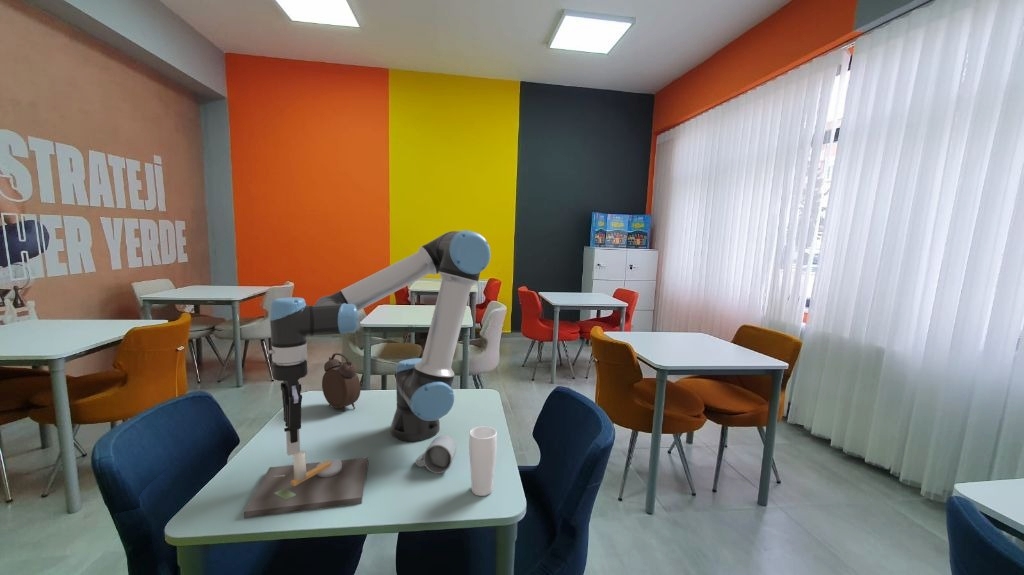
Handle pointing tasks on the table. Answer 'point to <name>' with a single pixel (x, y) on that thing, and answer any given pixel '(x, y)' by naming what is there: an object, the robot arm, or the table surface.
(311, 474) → the dial
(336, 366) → the alarm clock
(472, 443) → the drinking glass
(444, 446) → the ceramic mug
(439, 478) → the table surface
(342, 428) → the table surface
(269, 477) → the dial plate
